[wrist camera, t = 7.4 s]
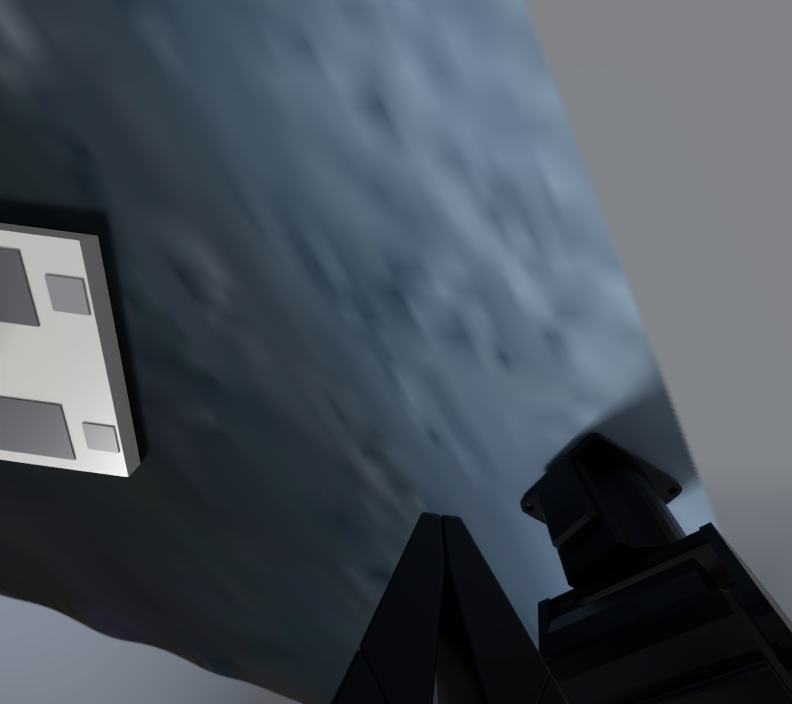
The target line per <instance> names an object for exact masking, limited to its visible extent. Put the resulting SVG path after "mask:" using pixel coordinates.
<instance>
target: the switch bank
mask: <svg viewBox="0 0 792 704" xmlns="http://www.w3.org/2000/svg"><path fill="white" fill-rule="evenodd" d="M0 459H1V460H8V461H15V462H23V463H30V464H37V465H44V466H51V467H59V468H66V469H73V470H80V471H88V472H95V473H102V474H109V475H116V476H124V477H129V476H130V475H131V474H132V473H133V471H134V470H135V469H136V468H137V467H138V466H139V465H140V464H141V463H140V458H139V453H138V447H137V442H136V437H135V431H134V426H133V421H132V415H131V410H130V405H129V399H128V394H127V389H126V383H125V378H124V373H123V367H122V362H121V357H120V351H119V346H118V341H117V335H116V330H115V325H114V319H113V314H112V309H111V303H110V298H109V293H108V287H107V282H106V277H105V271H104V266H103V261H102V255H101V250H100V245H99V239H98V236H96V235H89V234H81V233H74V232H66V231H58V230H51V229H43V228H35V227H28V226H20V225H13V224H5V223H0Z"/></svg>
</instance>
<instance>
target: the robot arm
mask: <svg viewBox="0 0 792 704" xmlns="http://www.w3.org/2000/svg"><path fill="white" fill-rule="evenodd" d="M596 441H598V443H597V444H593V443H594V442H596ZM671 487H672V488H671ZM669 488H670V489H669ZM681 491H682V487H681V486H680V484H679V483H678V482H677V481H676V480H675V479H673V478H672V477H670V476H668V475H667V474H665V473H663V472H662V471H660V470H659V469H657V468H655V467H654V466H652V465H650V464H649V463H647V462H645V461H644V460H642V459H640V458H639V457H637V456H635V455H634V454H632V453H630V452H629V451H627V450H625V449H624V448H622V447H621V446H619V445H617V444H616V443H614V442H612V441H611V440H609V439H607V438H606V437H604V436H602V435H601V434H598V433H593V434H590V435H588V436H587V437H586V438H585V439H584V440H583V441H582V442H581V443H580V444H579V445H577V446H576V447H575V448H574V449H573V450H572V451H571V452H570V453H569V454H568V455H567V456H566V457H565V458H564V459H563V460H562V461H561V462H560V463H559V464H558V465H556V466H555V467H554V468H553V469H552V470H551V471H550V472H549V473H548V474H547V475H546V476H545V477H544V478H543V479H542V480H541V481H540V482H539V483H538V484H537V485H536V486H535V487H534V488H533V489H532V490H531V491H530V492H529V493H528V494H527V495H526V496H525V497H524V498H522V500H521V501H520V505H521V509H522V511H523V512H524V513H526V514H528V515H530V516H532V517H533V518H535V519H537V520H539V521H541V522H543V523H544V524H546V525H547V528H548V531H549V535H550V538H551V541H552V544H553V546H554V547H555V548H557V551H558V554H559V557H560V560H561V564H562V567H563V570H564V573H565V576H566V579H567V582H568V585H570V586H571V587H573V588H574V589H572V590H570V591H567V592H565V593H563V594H561V595H559V596H557V597H554V598H552V599H549V598H547V599H545V600H543V601H541V602H538V627H539V651H538V650H537V648H536V646H535V645H534V643H533V641H532V639H531V638H530V636H529V634H528V632H527V631H526V629H525V627H524V626H523V624H522V622H521V620H520V619H519V617H518V615H517V614H516V612H515V610H514V608H513V607H512V605H511V603H510V601H509V600H508V598H507V596H506V595H505V593H504V591H503V589H502V588H501V586H500V584H499V583H498V581H497V579H496V577H495V576H494V574H493V572H492V570H491V569H490V567H489V565H488V564H487V562H486V560H485V558H484V557H483V555H482V553H481V552H480V550H479V548H478V546H477V545H476V543H475V541H474V539H473V538H472V536H471V534H470V533H469V531H468V529H467V527H466V526H465V524H464V522H463V521H462V519H461V518H460V517H458V516H451V515H442V516H440V515H439V514H436V513H428V512H423V513H422V514H421V515H420V518H419V520H418V522H417V524H416V526H415V528H414V530H413V532H412V535H411V537H410V539H409V541H408V543H407V545H406V547H405V549H404V552H403V554H402V556H401V558H400V560H399V562H398V564H397V566H396V569H395V571H394V573H393V575H392V577H391V579H390V581H389V583H388V586H387V588H386V590H385V592H384V594H383V596H382V598H381V600H380V603H379V605H378V607H377V609H376V611H375V613H374V615H373V617H372V620H371V622H370V624H369V626H368V628H367V630H366V632H365V634H364V637H363V639H362V641H361V643H360V645H359V649H358V650H357V651H356V653H355V655H354V657H353V659H352V662H351V664H350V666H349V668H348V670H347V672H346V674H345V676H344V678H343V680H342V682H341V684H340V686H339V688H338V690H337V692H336V693H335V695H334V697H333V699H332V701H331V703H330V704H433V694H434V683H435V673H436V686H437V699H438V704H792V622H791V621H790V619H789V618H788V617H787V615H786V614H785V613H784V612H783V610H782V609H781V608H780V606H779V605H778V604H777V603H776V601H775V600H774V599H773V597H772V596H771V595H770V594H769V592H768V591H767V590H766V588H765V587H764V586H763V585H762V583H761V582H760V581H759V580H758V578H757V577H756V576H755V575H754V574H753V572H752V571H751V570H750V569H749V567H748V566H747V565H746V564H745V563H744V561H743V560H742V559H741V558H740V557H739V555H738V554H737V553H736V552H735V551H734V549H733V548H732V547H731V546H730V545H729V543H728V542H727V541H726V540H725V539H724V537H723V536H722V535H721V534H720V533H719V531H718V530H717V529H716V528H715V527H714V525H713V524H712V523H711V522H710V523H708V524H706V525H704V526H701V527H699V529H700V530H699V531H697V532H695V533H692V534H690V535H688V536H687V535H686V534H685V532H684V531H683V529H682V528H681V526H680V525H679V523H678V522H677V520H676V519H675V517H674V516H673V514H672V513H671V511H670V510H669V508H668V507H667V505H666V504H668V503H669V502H670V501H672V500H673V499H674V498H675V497H677V496H678V495H679V494H680V493H681ZM530 504H531V505H530ZM527 505H530V506H527Z"/></svg>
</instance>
